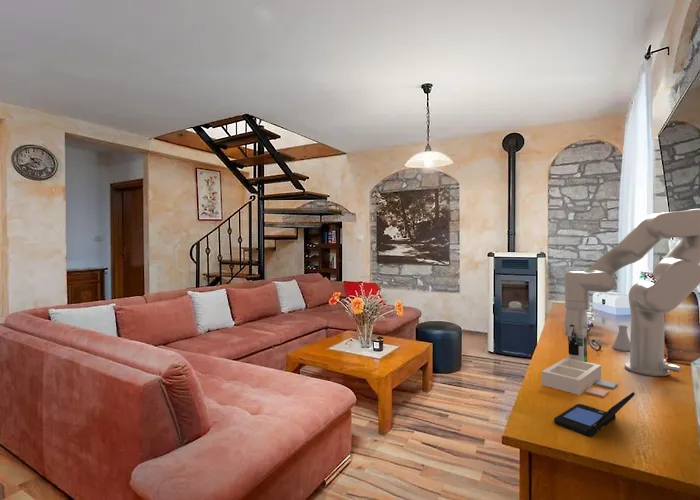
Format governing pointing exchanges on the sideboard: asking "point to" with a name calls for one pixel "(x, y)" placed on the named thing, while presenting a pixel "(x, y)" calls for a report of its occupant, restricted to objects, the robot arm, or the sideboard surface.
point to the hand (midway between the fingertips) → (577, 352)
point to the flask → (622, 339)
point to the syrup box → (581, 347)
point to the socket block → (576, 377)
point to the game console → (589, 417)
